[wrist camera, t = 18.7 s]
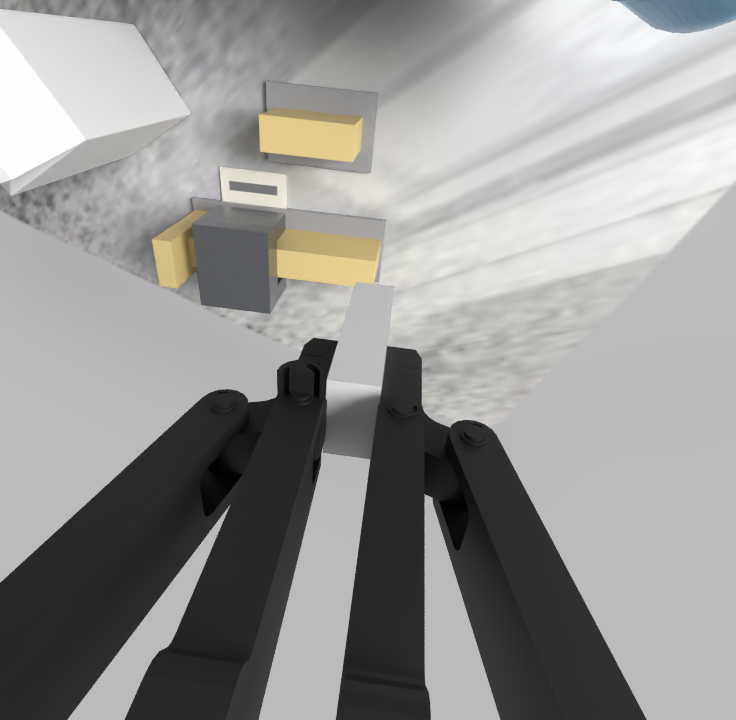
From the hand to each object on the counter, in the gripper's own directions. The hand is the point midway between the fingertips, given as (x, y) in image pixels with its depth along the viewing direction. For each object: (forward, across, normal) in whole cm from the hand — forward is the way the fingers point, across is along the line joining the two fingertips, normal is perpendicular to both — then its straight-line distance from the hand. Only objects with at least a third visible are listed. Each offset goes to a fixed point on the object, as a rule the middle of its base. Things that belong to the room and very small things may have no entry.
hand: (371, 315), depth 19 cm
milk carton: (+27, -23, +4) cm, 35 cm away
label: (+26, -13, -2) cm, 30 cm away
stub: (+26, -7, +3) cm, 27 cm away
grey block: (+23, -12, -7) cm, 27 cm away
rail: (+26, -10, -7) cm, 29 cm away
